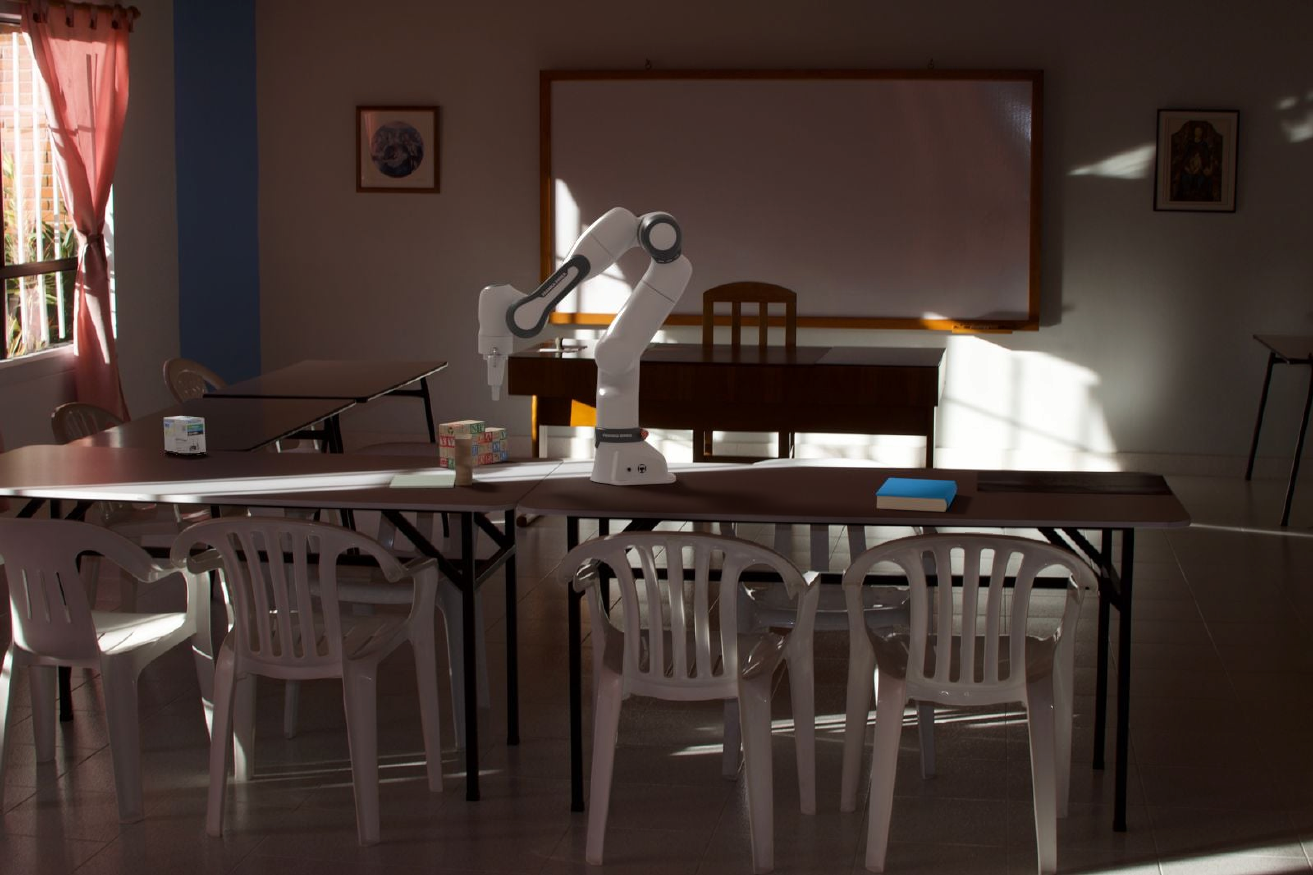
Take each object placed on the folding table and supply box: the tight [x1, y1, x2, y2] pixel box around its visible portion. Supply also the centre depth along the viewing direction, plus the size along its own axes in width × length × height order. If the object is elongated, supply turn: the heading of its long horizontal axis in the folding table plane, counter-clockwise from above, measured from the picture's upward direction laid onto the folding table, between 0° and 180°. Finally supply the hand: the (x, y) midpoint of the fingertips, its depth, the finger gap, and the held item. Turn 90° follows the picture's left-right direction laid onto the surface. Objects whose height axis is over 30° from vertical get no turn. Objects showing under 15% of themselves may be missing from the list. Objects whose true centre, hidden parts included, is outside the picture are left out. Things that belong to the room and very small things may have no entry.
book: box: [875, 477, 958, 513], centre depth 355 cm, size 17×4×25 cm
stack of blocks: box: [438, 419, 508, 470], centre depth 413 cm, size 21×6×12 cm, turn 143°
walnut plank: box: [455, 434, 474, 486], centre depth 381 cm, size 4×10×12 cm, turn 5°
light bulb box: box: [163, 415, 207, 453], centre depth 432 cm, size 11×7×11 cm, turn 58°
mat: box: [389, 473, 456, 489], centre depth 381 cm, size 16×18×1 cm
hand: (495, 399), depth 380 cm, fingers closed
